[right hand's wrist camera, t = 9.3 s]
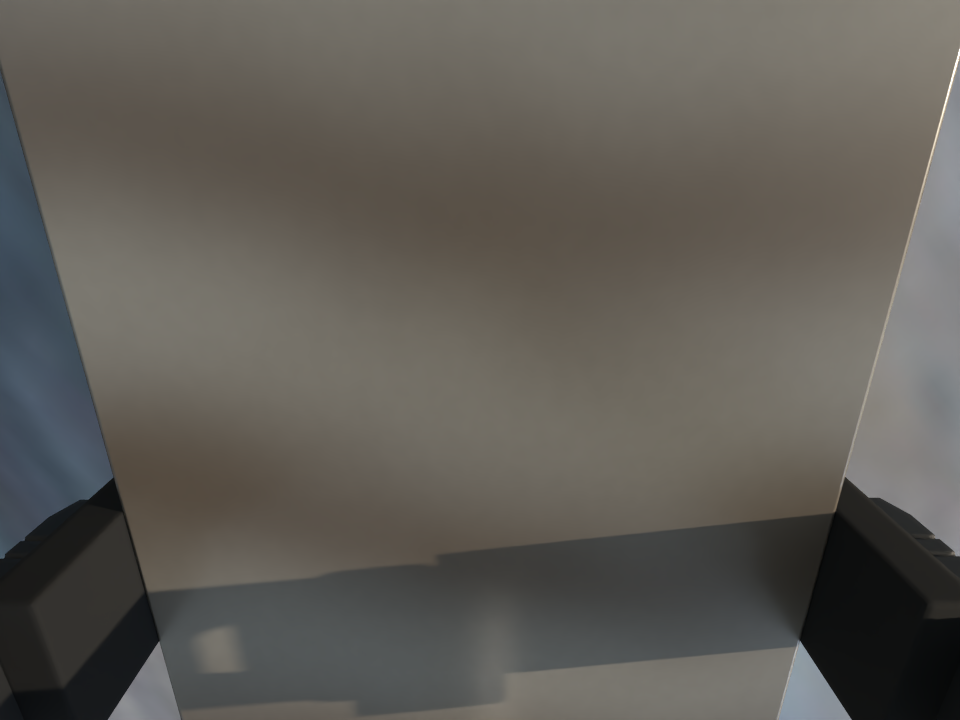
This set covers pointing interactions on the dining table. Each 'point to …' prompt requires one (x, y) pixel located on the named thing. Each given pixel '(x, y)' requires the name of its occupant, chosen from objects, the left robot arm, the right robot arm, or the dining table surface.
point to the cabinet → (479, 330)
